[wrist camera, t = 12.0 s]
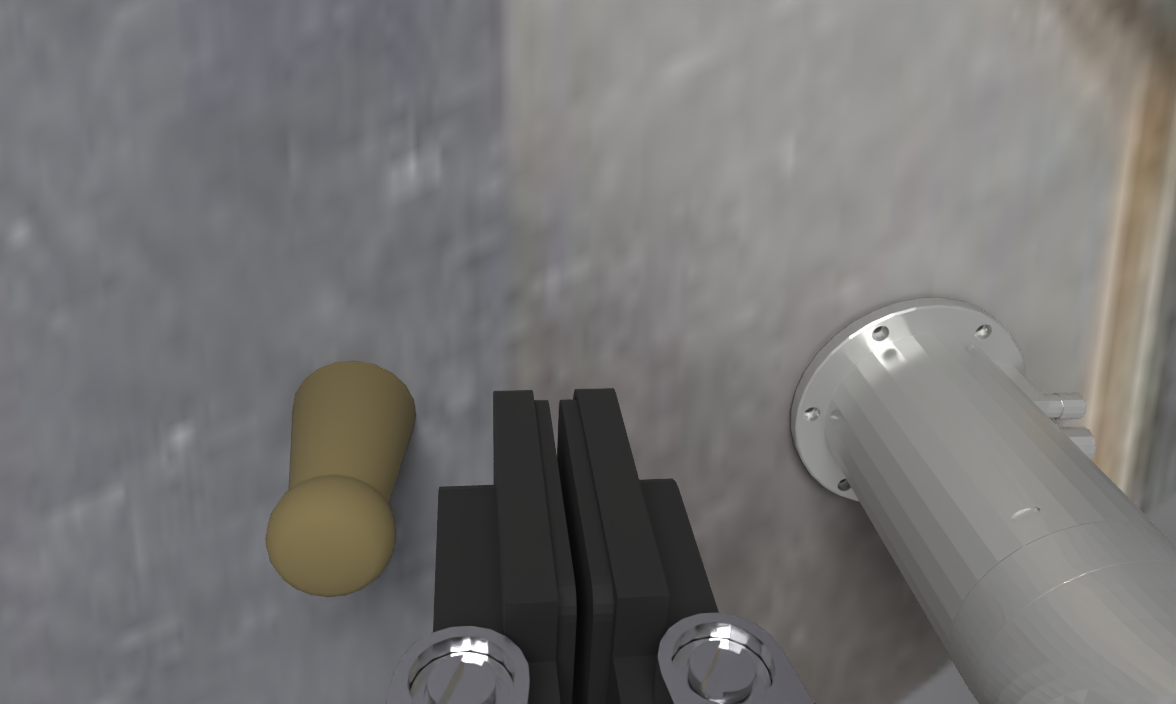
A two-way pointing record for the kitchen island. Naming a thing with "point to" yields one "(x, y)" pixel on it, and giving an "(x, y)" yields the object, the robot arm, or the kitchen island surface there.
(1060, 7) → the kitchen island surface
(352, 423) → the cork
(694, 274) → the kitchen island surface
